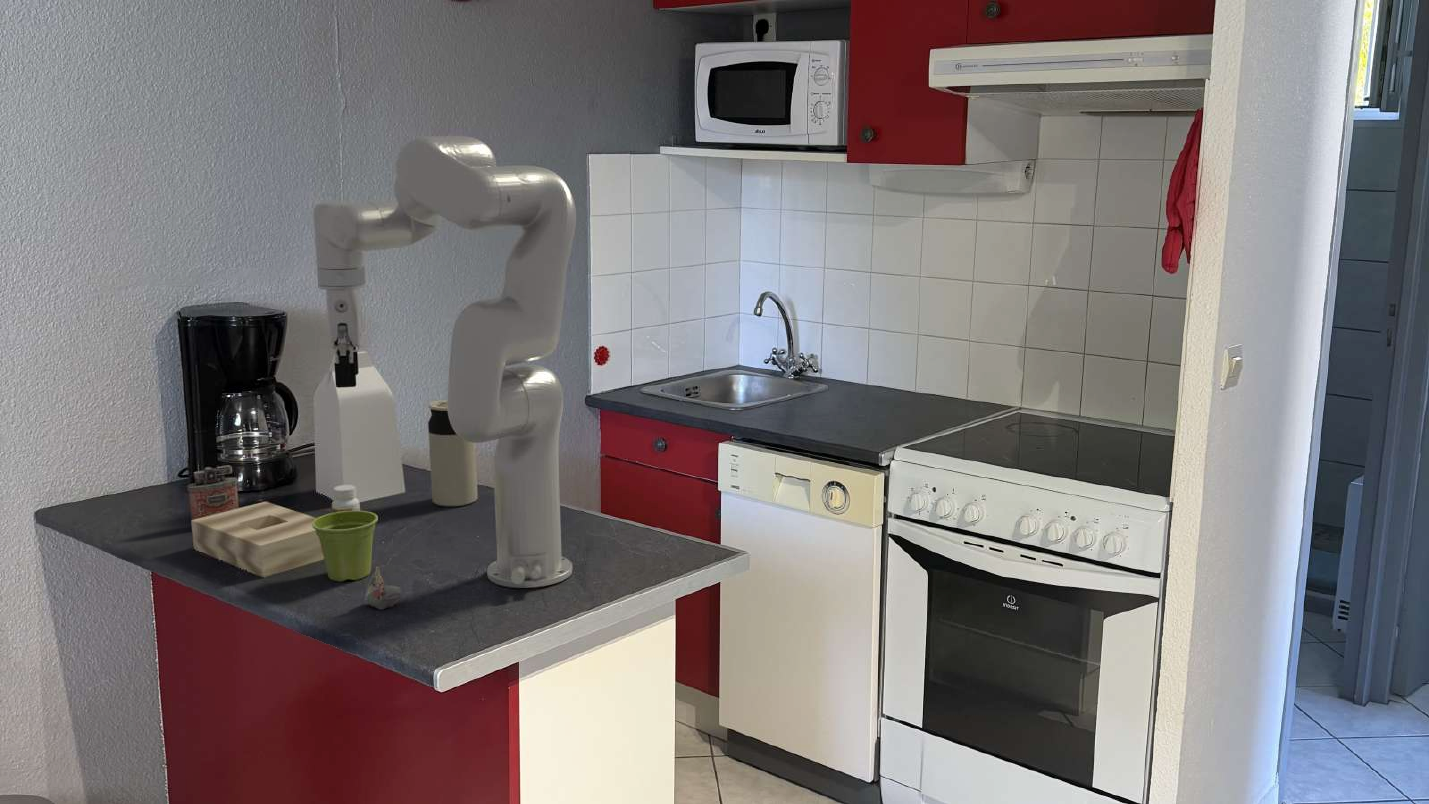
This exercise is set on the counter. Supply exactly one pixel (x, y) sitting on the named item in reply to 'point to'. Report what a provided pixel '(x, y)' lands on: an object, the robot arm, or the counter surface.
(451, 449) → the travel mug
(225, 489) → the lighter
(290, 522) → the hole block
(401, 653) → the counter surface
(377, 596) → the figurine
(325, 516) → the plant pot
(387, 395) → the milk
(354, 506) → the pill bottle
